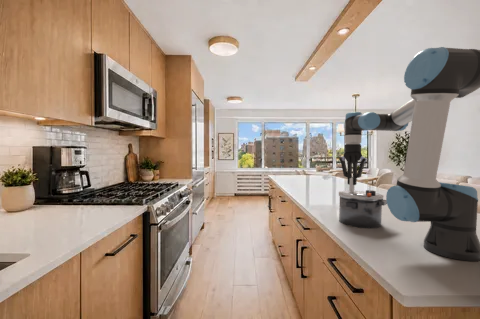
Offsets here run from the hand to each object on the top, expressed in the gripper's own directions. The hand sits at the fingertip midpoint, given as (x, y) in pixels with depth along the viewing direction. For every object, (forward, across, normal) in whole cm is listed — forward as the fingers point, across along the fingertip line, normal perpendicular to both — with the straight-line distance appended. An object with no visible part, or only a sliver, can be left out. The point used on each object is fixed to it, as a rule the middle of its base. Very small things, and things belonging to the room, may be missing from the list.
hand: (351, 191), depth 122 cm
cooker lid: (+2, -5, +3) cm, 6 cm away
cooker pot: (+14, -5, +3) cm, 15 cm away
